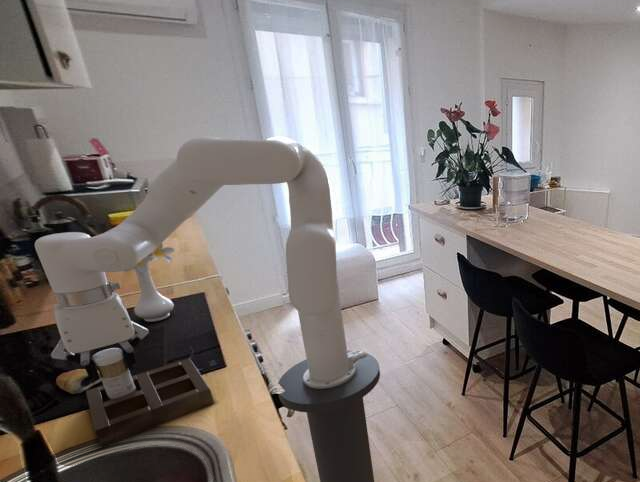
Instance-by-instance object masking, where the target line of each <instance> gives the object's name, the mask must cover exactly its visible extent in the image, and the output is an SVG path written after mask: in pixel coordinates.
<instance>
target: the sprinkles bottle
mask: <svg viewBox="0 0 640 482" xmlns="http://www.w3.org/2000/svg"><path fill="white" fill-rule="evenodd" d="M91 359H92V360H93V362H94V364H95V366H96V369H97V370H98V371H99V374H100V377H101V380H102V381H101V383H102V384H103V385H104V388H105V390H106V393H107V395H108V397H109V399H110V400H113V399H116V398H119V397H122V396H125V395H128V394H131V393H134V392H136V387H135V385H134V382H133V379H132V376H133V375H132V374H131V370H129V368H128V365H127V363H126V360H125V357H124V354H123V348H120V347H110V348H106V349H103V350H100V351H98V352H96V353H94V354H93V355H92V357H91ZM103 385H102V386H103Z"/></svg>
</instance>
